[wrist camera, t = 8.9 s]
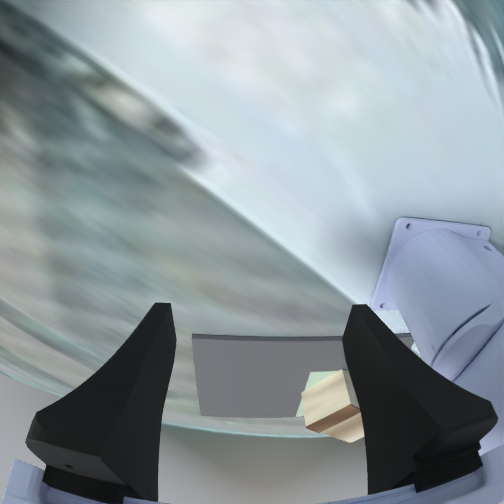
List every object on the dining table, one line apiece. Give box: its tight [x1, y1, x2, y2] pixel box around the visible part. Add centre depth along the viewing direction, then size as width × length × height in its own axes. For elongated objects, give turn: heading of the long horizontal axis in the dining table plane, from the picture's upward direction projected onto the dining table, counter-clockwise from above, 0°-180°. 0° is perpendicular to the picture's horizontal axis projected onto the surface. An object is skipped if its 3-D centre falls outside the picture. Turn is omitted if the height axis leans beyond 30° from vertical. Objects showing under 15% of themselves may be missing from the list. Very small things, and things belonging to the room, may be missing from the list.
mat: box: [192, 333, 414, 418], centre depth 29 cm, size 20×13×1 cm, turn 87°
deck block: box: [301, 369, 364, 443], centre depth 28 cm, size 8×5×4 cm, turn 46°
